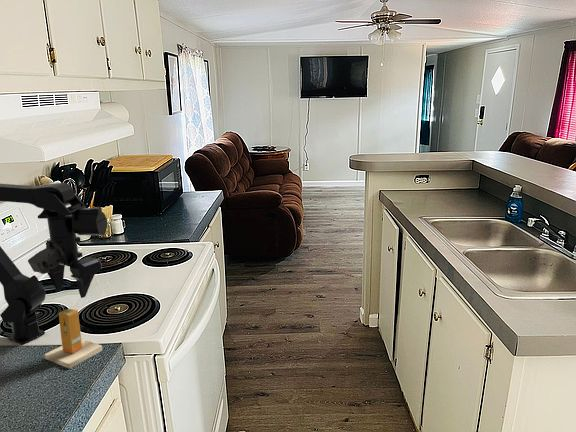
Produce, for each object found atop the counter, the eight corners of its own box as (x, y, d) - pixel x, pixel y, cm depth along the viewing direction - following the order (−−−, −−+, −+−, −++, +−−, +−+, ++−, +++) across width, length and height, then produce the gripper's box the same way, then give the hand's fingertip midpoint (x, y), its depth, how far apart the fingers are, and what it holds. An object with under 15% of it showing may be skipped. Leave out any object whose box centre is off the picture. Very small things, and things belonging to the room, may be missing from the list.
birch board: (45, 358, 105) (44, 354, 105) (78, 341, 113) (77, 337, 113) (69, 368, 101) (69, 364, 101) (102, 350, 109) (102, 345, 109)
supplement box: (84, 347, 108) (78, 309, 106) (72, 354, 105) (67, 315, 103) (73, 344, 109) (68, 307, 107) (62, 351, 106) (56, 313, 104)
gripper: (7, 238, 106) (17, 298, 110) (57, 249, 98) (66, 314, 101) (50, 227, 116) (58, 283, 120) (99, 236, 107) (106, 296, 111)
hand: (71, 293), depth 113 cm, fingers open, 9 cm apart
